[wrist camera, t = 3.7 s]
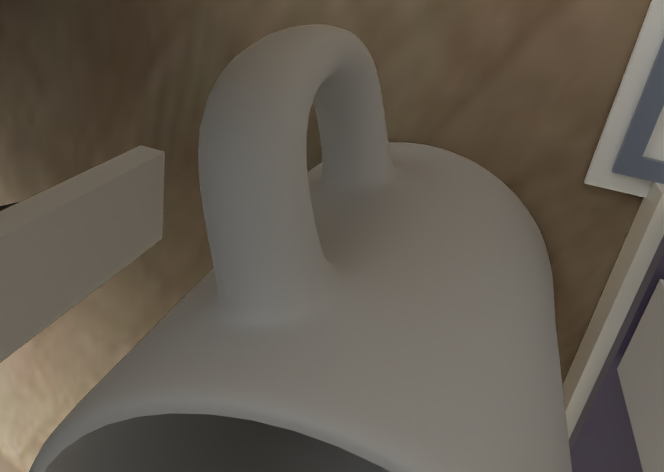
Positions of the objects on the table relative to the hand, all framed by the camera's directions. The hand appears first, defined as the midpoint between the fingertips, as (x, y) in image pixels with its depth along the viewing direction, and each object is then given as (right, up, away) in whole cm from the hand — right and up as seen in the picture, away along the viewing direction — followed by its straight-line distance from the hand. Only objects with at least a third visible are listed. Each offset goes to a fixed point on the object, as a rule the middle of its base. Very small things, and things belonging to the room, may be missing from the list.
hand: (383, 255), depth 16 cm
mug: (+1, +1, +2) cm, 2 cm away
